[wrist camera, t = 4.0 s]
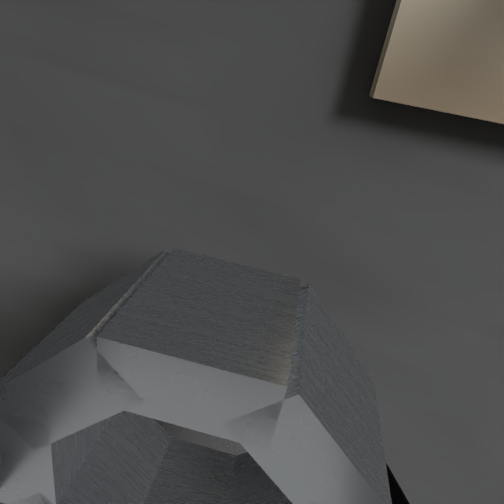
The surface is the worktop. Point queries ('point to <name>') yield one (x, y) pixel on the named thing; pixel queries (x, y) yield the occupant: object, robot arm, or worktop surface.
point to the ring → (193, 396)
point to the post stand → (445, 57)
